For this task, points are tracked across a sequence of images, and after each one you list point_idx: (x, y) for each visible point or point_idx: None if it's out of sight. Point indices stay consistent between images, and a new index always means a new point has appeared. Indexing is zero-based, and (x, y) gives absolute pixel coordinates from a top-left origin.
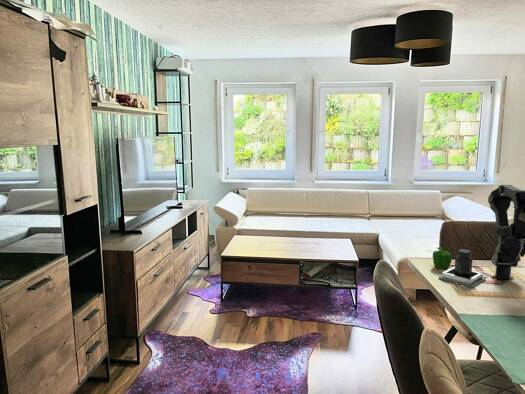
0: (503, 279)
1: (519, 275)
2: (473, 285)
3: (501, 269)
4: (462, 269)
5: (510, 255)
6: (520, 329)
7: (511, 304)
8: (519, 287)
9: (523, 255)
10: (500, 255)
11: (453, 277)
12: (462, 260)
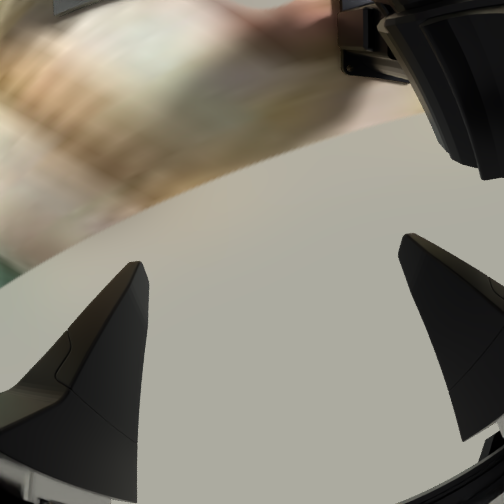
0: (344, 50)
1: None
2: (76, 6)
3: (374, 33)
4: None
5: (457, 112)
6: None
7: (56, 220)
8: (300, 143)
9: (404, 269)
10: (406, 18)
11: None
12: None
